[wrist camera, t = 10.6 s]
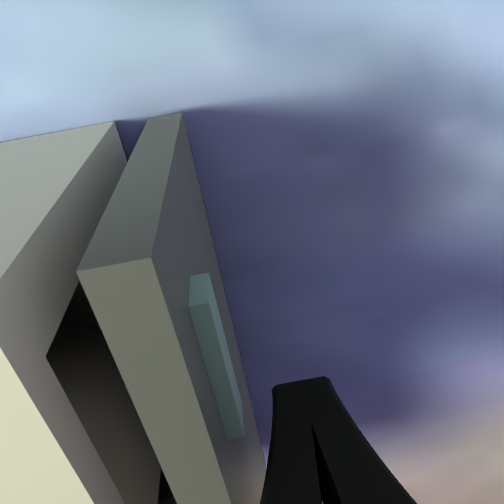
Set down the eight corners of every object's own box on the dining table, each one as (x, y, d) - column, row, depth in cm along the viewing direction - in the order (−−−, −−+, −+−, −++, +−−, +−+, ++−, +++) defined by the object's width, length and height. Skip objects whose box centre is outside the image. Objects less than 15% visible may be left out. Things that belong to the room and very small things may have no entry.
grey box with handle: (272, 456, 17) (304, 690, 11) (18, 501, 17) (-77, 757, 11) (194, 109, 10) (179, 252, 5) (-219, 186, 10) (-728, 419, 5)
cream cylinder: (185, 439, 14) (177, 592, 10) (21, 466, 14) (-42, 628, 10) (140, 308, 11) (110, 453, 8) (-61, 342, 11) (-183, 502, 8)
